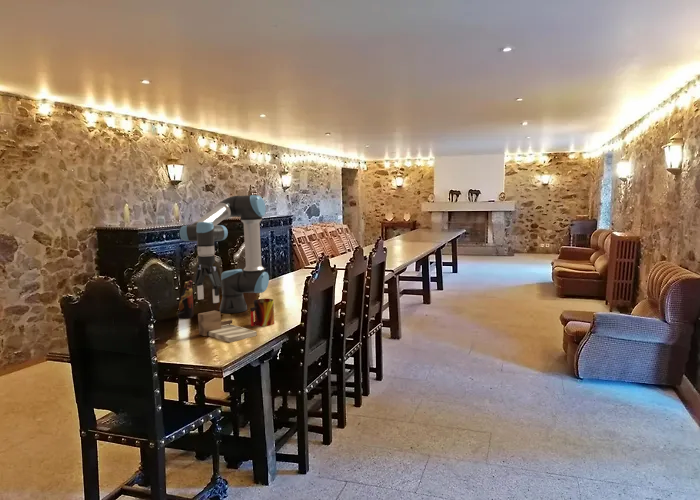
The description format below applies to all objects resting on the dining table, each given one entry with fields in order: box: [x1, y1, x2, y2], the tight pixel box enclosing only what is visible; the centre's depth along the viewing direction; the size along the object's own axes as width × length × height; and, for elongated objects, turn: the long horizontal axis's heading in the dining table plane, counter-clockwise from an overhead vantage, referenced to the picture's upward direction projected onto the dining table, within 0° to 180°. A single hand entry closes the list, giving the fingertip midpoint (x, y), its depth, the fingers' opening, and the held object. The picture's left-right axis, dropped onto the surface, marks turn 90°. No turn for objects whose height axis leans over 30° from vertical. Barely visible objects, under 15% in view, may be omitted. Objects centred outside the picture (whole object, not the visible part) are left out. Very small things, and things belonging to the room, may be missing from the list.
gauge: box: [197, 309, 233, 337], centre depth 232 cm, size 5×16×10 cm, turn 136°
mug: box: [249, 298, 275, 327], centre depth 244 cm, size 10×14×12 cm
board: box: [207, 323, 258, 343], centre depth 228 cm, size 24×14×2 cm, turn 46°
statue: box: [177, 279, 195, 320], centre depth 264 cm, size 12×8×20 cm, turn 0°
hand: (208, 301), depth 228 cm, fingers open, 13 cm apart
